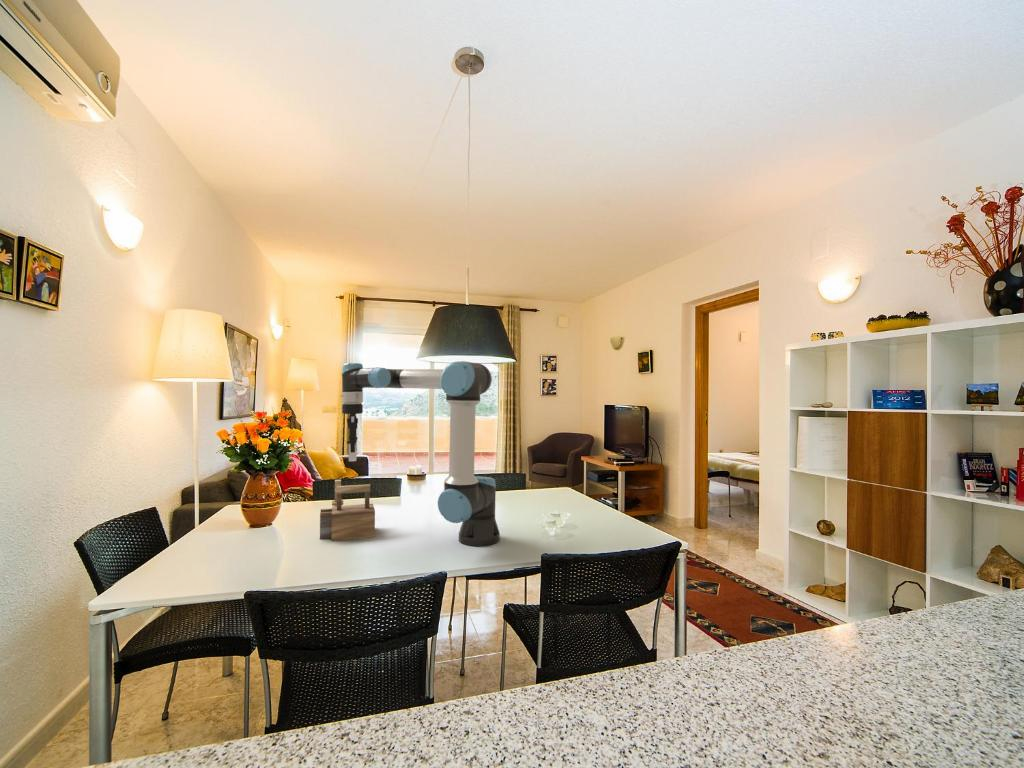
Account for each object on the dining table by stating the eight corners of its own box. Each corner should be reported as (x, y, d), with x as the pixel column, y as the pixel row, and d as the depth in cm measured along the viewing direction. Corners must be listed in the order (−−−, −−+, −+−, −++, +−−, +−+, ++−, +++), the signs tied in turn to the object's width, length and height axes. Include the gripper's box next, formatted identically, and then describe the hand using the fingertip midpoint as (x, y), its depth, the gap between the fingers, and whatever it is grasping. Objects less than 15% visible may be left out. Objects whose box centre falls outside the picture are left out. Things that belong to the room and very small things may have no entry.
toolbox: (374, 536, 174) (374, 515, 174) (319, 542, 167) (319, 519, 167) (372, 527, 185) (372, 507, 185) (320, 532, 178) (320, 511, 178)
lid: (374, 515, 174) (375, 487, 174) (319, 519, 167) (320, 491, 167) (372, 507, 185) (373, 481, 185) (320, 511, 178) (321, 484, 178)
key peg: (343, 520, 195) (343, 480, 195) (331, 521, 193) (332, 481, 194) (342, 517, 199) (343, 478, 199) (331, 518, 198) (332, 479, 198)
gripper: (342, 402, 190) (342, 455, 190) (341, 404, 167) (341, 463, 166) (361, 402, 193) (361, 454, 192) (363, 403, 169) (363, 462, 169)
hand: (352, 458), depth 179 cm, fingers open, 13 cm apart
